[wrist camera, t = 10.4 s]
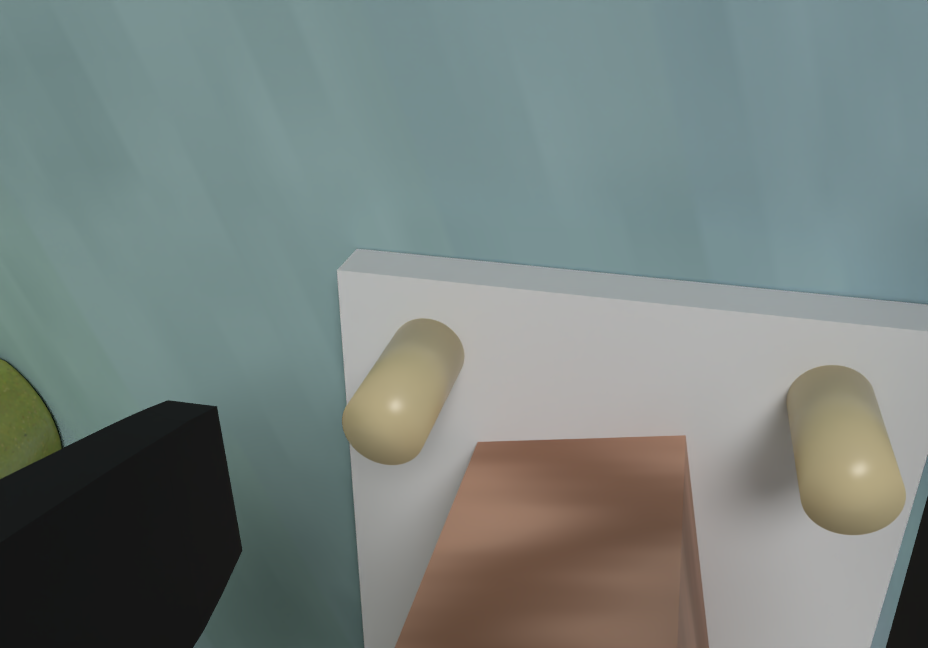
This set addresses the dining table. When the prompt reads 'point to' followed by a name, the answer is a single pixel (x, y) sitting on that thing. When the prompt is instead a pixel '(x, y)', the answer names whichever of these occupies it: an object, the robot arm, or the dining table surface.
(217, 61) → the dining table surface
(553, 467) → the board block
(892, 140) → the dining table surface
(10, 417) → the plant pot
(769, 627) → the standoff plate
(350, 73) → the dining table surface
